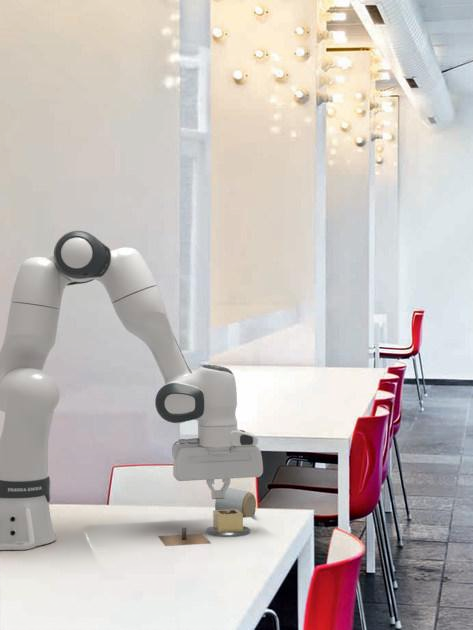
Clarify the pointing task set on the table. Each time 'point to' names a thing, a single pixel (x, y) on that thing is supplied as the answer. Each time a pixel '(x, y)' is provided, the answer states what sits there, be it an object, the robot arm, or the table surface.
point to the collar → (227, 521)
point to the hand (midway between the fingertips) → (218, 498)
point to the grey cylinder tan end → (237, 502)
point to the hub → (213, 532)
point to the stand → (184, 539)
